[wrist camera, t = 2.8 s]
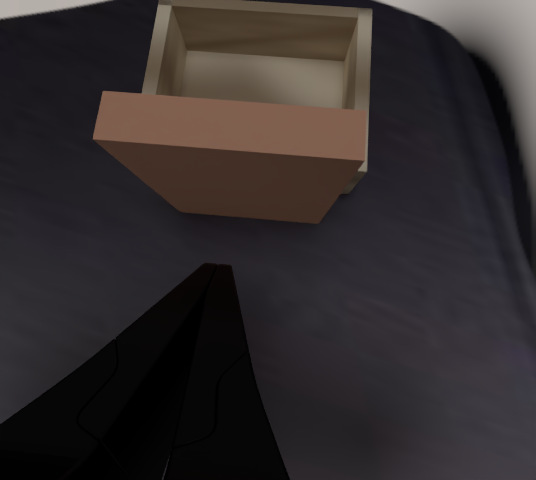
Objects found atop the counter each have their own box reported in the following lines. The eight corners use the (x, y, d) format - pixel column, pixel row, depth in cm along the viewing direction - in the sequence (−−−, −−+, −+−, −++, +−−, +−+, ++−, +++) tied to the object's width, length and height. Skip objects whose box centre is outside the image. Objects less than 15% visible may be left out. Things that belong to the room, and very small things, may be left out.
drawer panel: (318, 224, 16) (364, 161, 8) (180, 212, 16) (92, 139, 8) (320, 197, 16) (366, 110, 8) (184, 186, 16) (103, 90, 8)
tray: (348, 194, 16) (366, 171, 13) (157, 178, 16) (130, 152, 13) (354, 58, 18) (372, 9, 14) (179, 46, 18) (160, -5, 15)
